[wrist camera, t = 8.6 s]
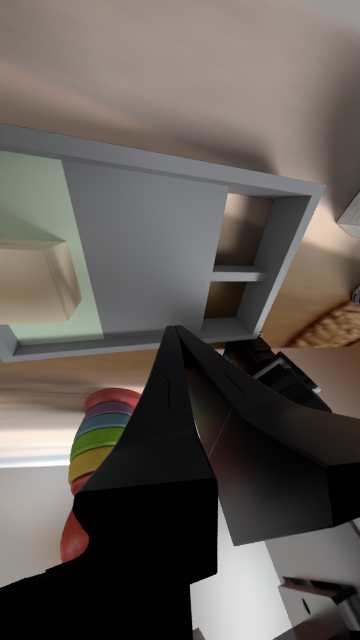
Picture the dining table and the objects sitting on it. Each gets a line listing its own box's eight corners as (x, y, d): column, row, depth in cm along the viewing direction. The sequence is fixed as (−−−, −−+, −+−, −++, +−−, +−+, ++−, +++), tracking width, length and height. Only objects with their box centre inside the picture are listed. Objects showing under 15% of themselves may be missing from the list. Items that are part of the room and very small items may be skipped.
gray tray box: (239, 320, 26) (256, 338, 22) (29, 334, 19) (4, 362, 15) (285, 191, 17) (326, 184, 13) (-87, 130, 10) (-216, 81, 6)
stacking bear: (107, 422, 34) (84, 578, 19) (68, 404, 28) (-6, 610, 13) (150, 401, 33) (161, 546, 19) (121, 378, 27) (102, 565, 13)
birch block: (82, 298, 15) (67, 321, 12) (20, 299, 14) (-15, 325, 11) (66, 241, 12) (41, 250, 9) (-13, 236, 11) (-74, 245, 8)
